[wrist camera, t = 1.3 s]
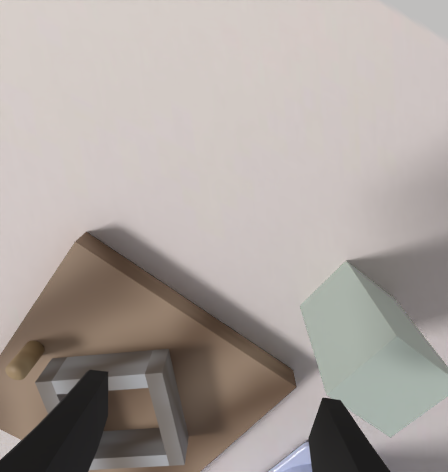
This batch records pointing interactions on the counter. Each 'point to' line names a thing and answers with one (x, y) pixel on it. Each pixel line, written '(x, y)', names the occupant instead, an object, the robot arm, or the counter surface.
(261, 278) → the counter surface
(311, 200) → the counter surface
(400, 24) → the counter surface
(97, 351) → the socket plate
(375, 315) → the sage block
